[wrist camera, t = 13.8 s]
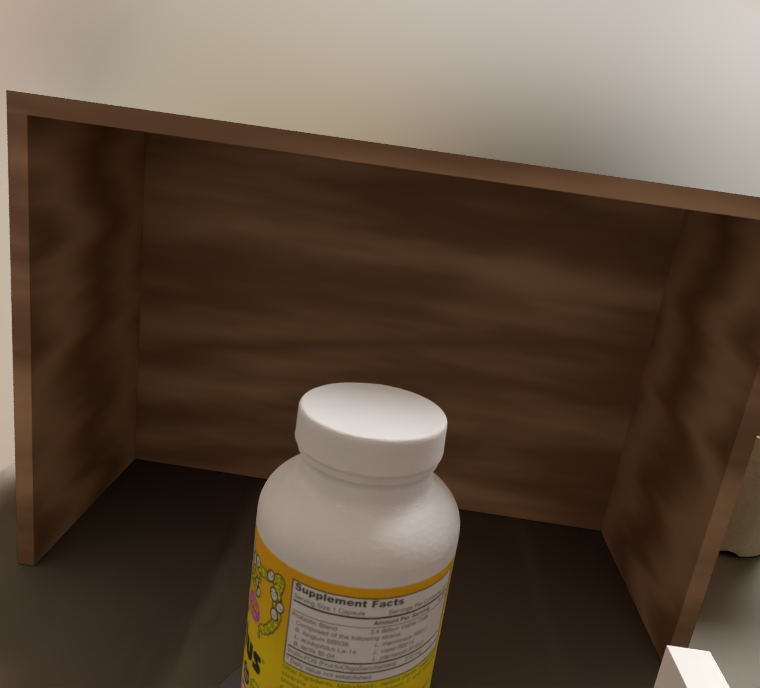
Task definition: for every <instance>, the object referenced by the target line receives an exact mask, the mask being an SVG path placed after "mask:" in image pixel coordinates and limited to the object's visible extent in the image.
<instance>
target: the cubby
mask: <svg viewBox="0 0 760 688" xmlns="http://www.w3.org/2000/svg"><path fill="white" fill-rule="evenodd" d="M6 93H7V129H8V130H7V135H8V177H9V217H10V256H11V257H10V260H11V301H12V343H13V381H14V382H13V383H14V384H13V386H14V427H15V469H16V511H17V553H18V563H19V564H26V565H32V566H35V564H36V563H37V562H38V561H39V560H40V559H41V558H42V557H43V556H44V555H45V554H46V553H47V552H48V551H49V550H50V549H51V547H52V546H53V545H54V544H55V543H56V542H57V541H58V540H59V539H60V538H61V537H62V536H63V535H64V534H65V533H66V532H67V530H68V529H69V528H70V527H71V526H72V525H73V524H74V523H75V522H76V521H77V520H78V519H79V518H80V517H81V516H82V515H83V514H84V512H85V511H86V510H87V509H88V508H89V507H90V506H91V505H92V504H93V503H94V502H95V501H96V500H97V499H98V498H99V497H100V495H101V494H102V493H103V492H104V491H105V490H106V489H107V488H108V487H109V486H110V485H111V484H112V483H113V482H114V481H115V480H116V478H117V477H118V476H119V475H120V474H121V473H122V472H123V471H124V470H125V469H126V468H127V467H128V466H129V465H130V464H131V463H132V462H133V460H134V459H141V460H147V461H154V462H160V463H167V464H173V465H180V466H186V467H193V468H199V469H205V470H212V471H218V472H225V473H231V474H238V475H244V476H250V477H257V478H263V479H268V478H269V477H270V476H271V474H272V473H273V472H274V471H275V470H276V469H277V468H278V467H279V466H281V465H282V464H283V463H284V462H286V461H287V460H289V459H291V458H292V457H294V456H296V455H298V454H301V453H300V451H299V448H298V444H297V442H296V439H295V430H296V423H297V414H298V406H299V402H300V399H301V398H302V397H303V395H304V394H305V393H307V392H308V391H310V390H312V389H314V388H317V387H320V386H323V385H327V384H333V383H371V384H381V385H387V386H391V387H396V388H400V389H403V390H407V391H410V392H413V393H416V394H418V395H420V396H422V397H424V398H427V399H428V400H430V401H432V402H433V403H435V404H436V405H437V406H439V407H440V408H441V410H442V411H443V412H444V414H445V415H446V418H447V431H446V437H445V445H444V453H443V456H442V459H441V460H440V462H439V463H438V465H437V467H436V469H435V470H434V471H433V473H435V474H436V475H437V476H438V477H439V478H440V479H441V480H442V481H443V482H444V483H445V484H446V486H447V487H448V488H449V490H450V491H451V493H452V495H453V497H454V499H455V501H456V503H457V506H458V509H463V510H469V511H476V512H482V513H489V514H495V515H502V516H508V517H515V518H521V519H527V520H534V521H540V522H547V523H553V524H560V525H566V526H573V527H579V528H585V529H592V530H598V531H601V532H602V534H603V537H604V539H605V541H606V543H607V545H608V547H609V550H610V552H611V554H612V556H613V558H614V560H615V563H616V565H617V567H618V569H619V571H620V573H621V575H622V578H623V580H624V582H625V584H626V586H627V588H628V591H629V593H630V595H631V597H632V599H633V601H634V604H635V606H636V608H637V610H638V612H639V614H640V617H641V619H642V621H643V623H644V625H645V627H646V629H647V632H648V634H649V636H650V638H651V640H652V642H653V645H654V647H655V649H656V651H657V653H658V655H659V658H660V660H661V662H662V659H663V656H664V653H665V650H666V646H667V645H669V646H676V647H683V648H688V646H689V643H690V640H691V637H692V634H693V630H694V627H695V624H696V621H697V618H698V615H699V612H700V609H701V606H702V603H703V600H704V597H705V594H706V591H707V588H708V585H709V581H710V578H711V575H712V572H713V569H714V566H715V563H716V560H717V557H718V554H719V551H720V548H721V545H722V542H723V539H724V536H725V532H726V529H727V526H728V523H729V520H730V517H731V514H732V511H733V508H734V505H735V502H736V499H737V496H738V493H739V490H740V487H741V484H742V480H743V477H744V474H745V471H746V468H747V465H748V462H749V459H750V456H751V453H752V450H753V447H754V444H755V441H756V438H757V435H758V431H759V428H760V197H753V196H746V195H739V194H732V193H725V192H718V191H711V190H704V189H697V188H690V187H683V186H676V185H668V184H662V183H655V182H648V181H641V180H634V179H627V178H620V177H613V176H606V175H599V174H592V173H584V172H578V171H571V170H563V169H556V168H549V167H542V166H536V165H528V164H522V163H514V162H507V161H500V160H493V159H485V158H479V157H472V156H465V155H458V154H451V153H444V152H437V151H430V150H423V149H416V148H409V147H402V146H394V145H388V144H381V143H374V142H367V141H360V140H352V139H346V138H339V137H332V136H324V135H317V134H311V133H304V132H297V131H289V130H282V129H276V128H269V127H261V126H255V125H247V124H241V123H233V122H226V121H219V120H212V119H205V118H198V117H191V116H184V115H176V114H170V113H163V112H156V111H149V110H142V109H135V108H128V107H121V106H114V105H107V104H100V103H92V102H86V101H79V100H71V99H65V98H58V97H50V96H44V95H37V94H30V93H22V92H15V91H8V90H7V91H6Z"/></svg>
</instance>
